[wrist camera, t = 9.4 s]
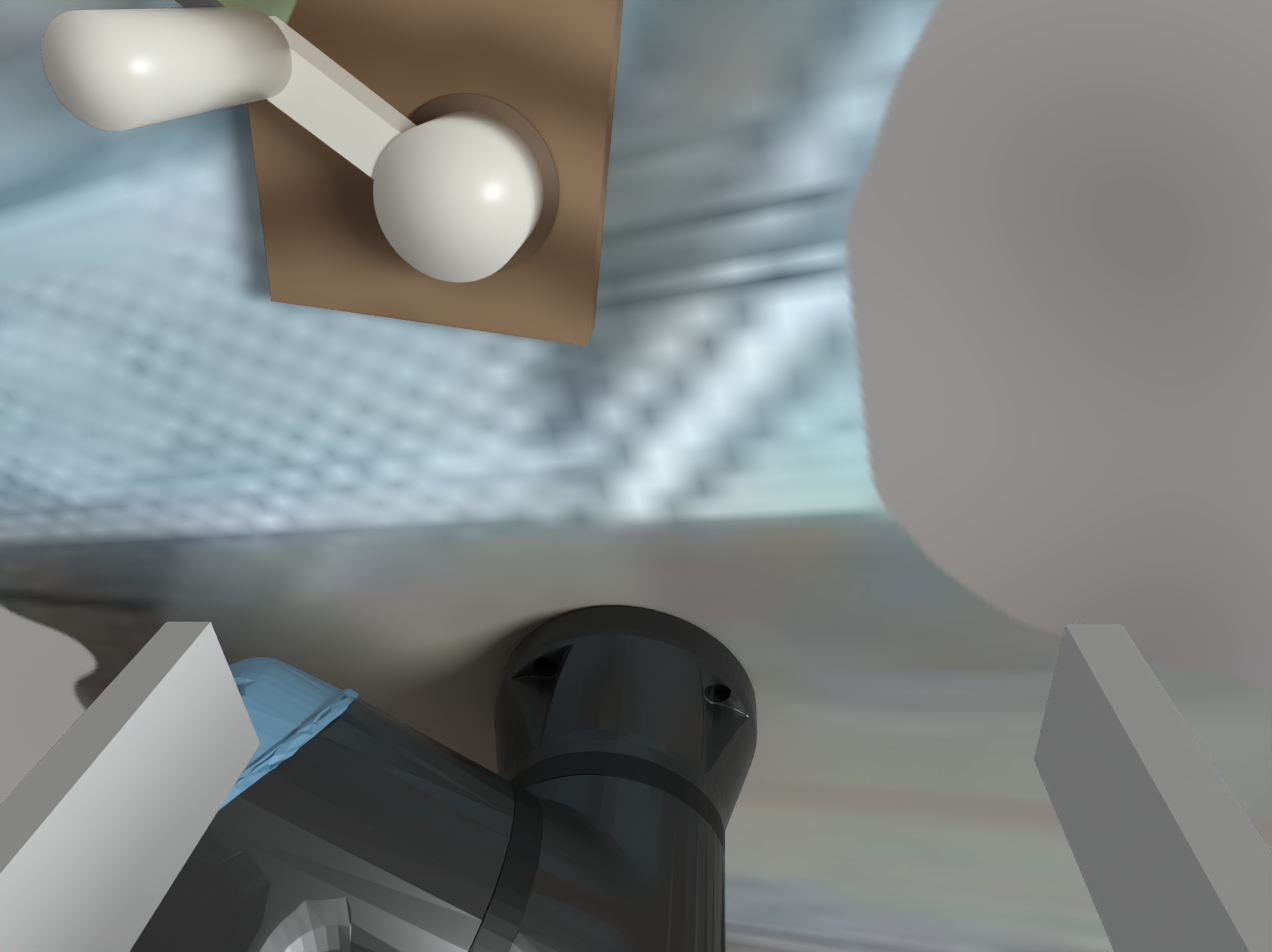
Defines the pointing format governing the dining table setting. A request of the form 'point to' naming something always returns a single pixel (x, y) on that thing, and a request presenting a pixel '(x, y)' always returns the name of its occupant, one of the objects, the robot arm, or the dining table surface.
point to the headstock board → (424, 90)
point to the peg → (307, 121)
